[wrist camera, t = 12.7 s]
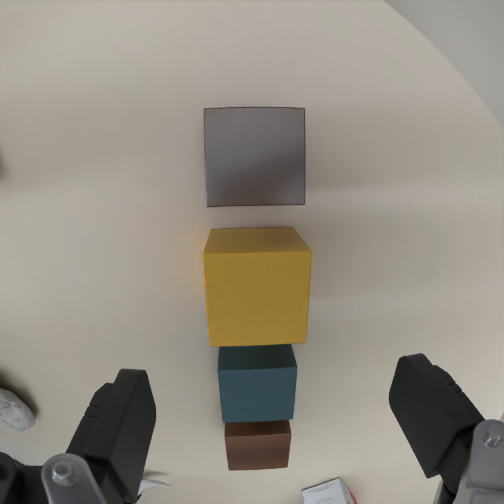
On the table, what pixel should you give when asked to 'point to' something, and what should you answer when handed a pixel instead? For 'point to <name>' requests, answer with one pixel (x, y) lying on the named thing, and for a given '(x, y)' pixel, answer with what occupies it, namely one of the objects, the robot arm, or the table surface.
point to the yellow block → (256, 286)
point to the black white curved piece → (145, 485)
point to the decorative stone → (14, 412)
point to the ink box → (328, 494)
